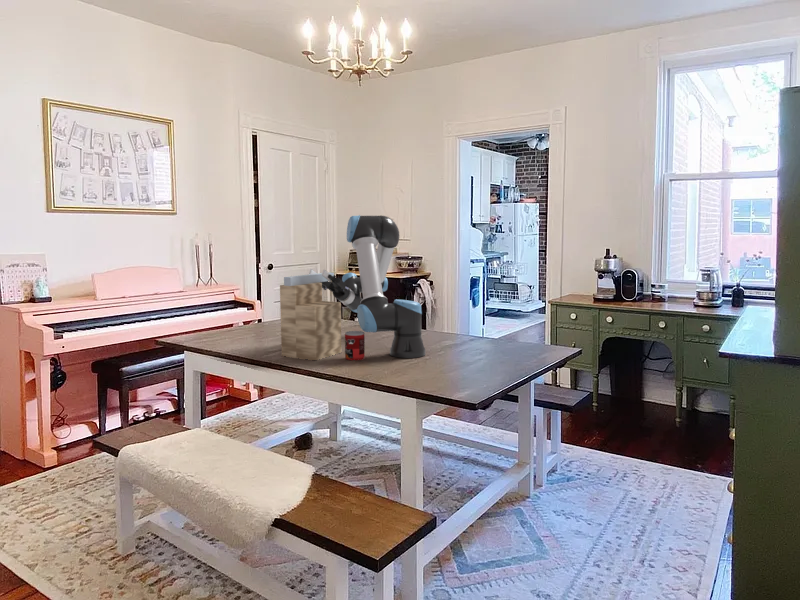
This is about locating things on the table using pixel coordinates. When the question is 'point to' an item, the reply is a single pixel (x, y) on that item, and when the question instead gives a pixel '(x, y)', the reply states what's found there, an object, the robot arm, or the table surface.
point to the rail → (305, 279)
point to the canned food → (354, 345)
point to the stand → (309, 323)
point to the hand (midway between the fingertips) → (316, 272)
